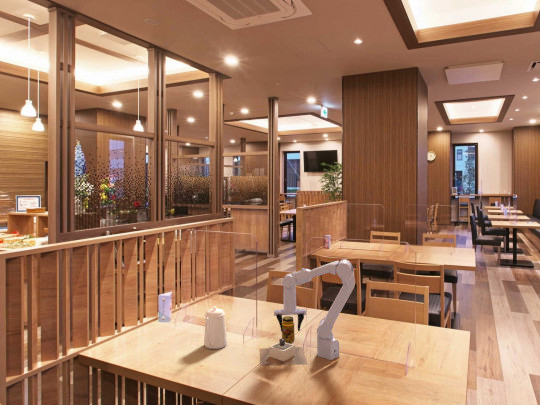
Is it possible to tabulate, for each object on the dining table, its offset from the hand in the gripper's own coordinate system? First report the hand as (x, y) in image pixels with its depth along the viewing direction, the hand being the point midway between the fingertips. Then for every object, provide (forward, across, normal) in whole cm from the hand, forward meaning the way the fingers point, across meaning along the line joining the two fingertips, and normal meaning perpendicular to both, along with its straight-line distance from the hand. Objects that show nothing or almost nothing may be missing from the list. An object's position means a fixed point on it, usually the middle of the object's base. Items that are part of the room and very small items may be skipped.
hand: (290, 330), depth 187 cm
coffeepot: (+11, -35, +12) cm, 38 cm away
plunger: (+9, -4, -5) cm, 11 cm away
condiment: (+11, 0, +14) cm, 18 cm away
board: (+10, -4, -4) cm, 12 cm away
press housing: (+10, -4, -5) cm, 11 cm away
